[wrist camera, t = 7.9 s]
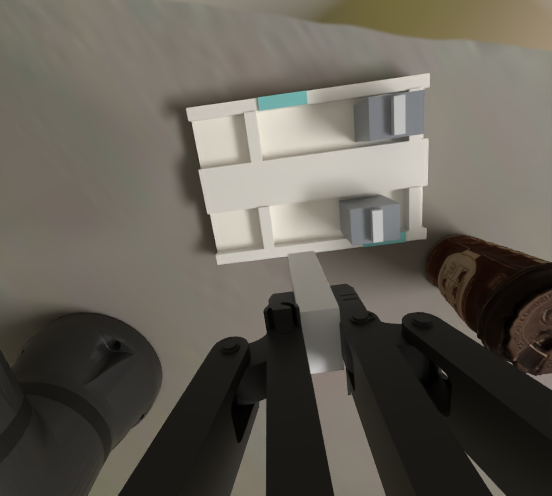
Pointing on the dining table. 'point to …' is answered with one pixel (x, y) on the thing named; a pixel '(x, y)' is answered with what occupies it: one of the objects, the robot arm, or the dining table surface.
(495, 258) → the coffee cup
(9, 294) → the dining table surface
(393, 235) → the tab
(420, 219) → the switch bank
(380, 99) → the tab
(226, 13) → the dining table surface
